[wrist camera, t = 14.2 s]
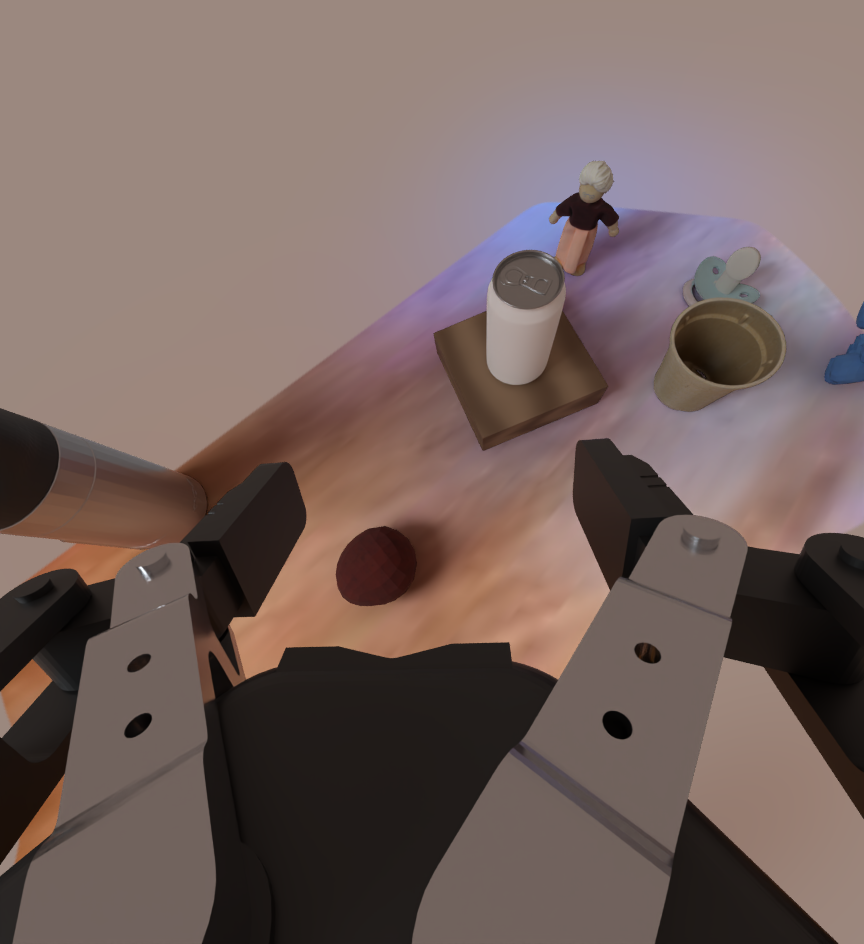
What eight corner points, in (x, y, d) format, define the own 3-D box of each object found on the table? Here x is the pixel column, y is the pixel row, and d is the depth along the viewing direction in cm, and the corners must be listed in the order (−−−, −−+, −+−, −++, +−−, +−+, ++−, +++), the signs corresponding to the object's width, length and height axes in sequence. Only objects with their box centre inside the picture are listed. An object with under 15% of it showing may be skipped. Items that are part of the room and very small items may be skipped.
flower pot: (620, 399, 44) (652, 357, 36) (661, 336, 46) (699, 281, 37) (704, 441, 42) (758, 406, 34) (743, 373, 43) (804, 323, 35)
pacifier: (712, 334, 45) (755, 306, 45) (745, 297, 39) (795, 264, 39) (667, 291, 47) (709, 264, 47) (692, 250, 41) (740, 220, 41)
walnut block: (482, 450, 45) (482, 438, 41) (437, 352, 49) (433, 333, 45) (597, 403, 44) (608, 386, 41) (542, 308, 49) (547, 285, 45)
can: (501, 326, 44) (507, 236, 33) (556, 345, 43) (583, 258, 31) (476, 374, 43) (473, 298, 31) (532, 395, 41) (550, 324, 30)
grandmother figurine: (538, 275, 50) (555, 177, 38) (543, 251, 51) (562, 147, 39) (601, 282, 49) (640, 182, 36) (605, 256, 49) (645, 150, 37)
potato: (333, 569, 43) (306, 567, 36) (391, 517, 44) (375, 505, 37) (375, 624, 41) (354, 631, 34) (435, 568, 42) (426, 564, 35)
